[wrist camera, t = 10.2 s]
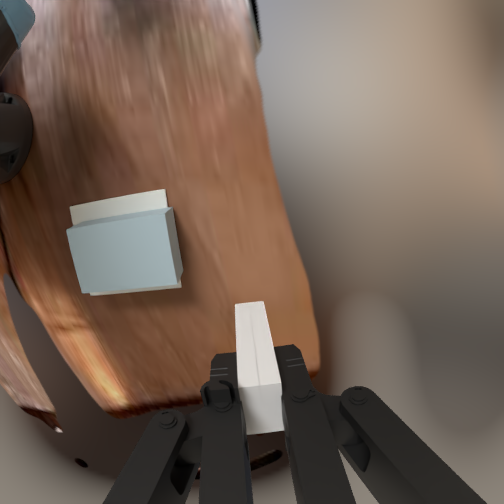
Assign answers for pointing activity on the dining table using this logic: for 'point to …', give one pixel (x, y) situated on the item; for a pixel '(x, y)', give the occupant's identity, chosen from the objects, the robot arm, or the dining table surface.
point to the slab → (126, 251)
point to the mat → (121, 207)
